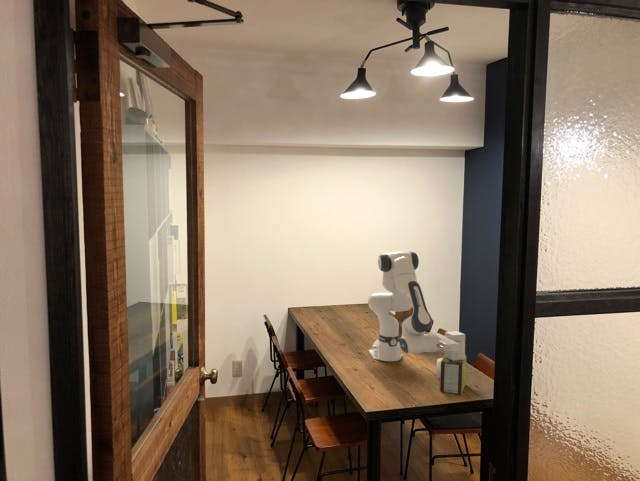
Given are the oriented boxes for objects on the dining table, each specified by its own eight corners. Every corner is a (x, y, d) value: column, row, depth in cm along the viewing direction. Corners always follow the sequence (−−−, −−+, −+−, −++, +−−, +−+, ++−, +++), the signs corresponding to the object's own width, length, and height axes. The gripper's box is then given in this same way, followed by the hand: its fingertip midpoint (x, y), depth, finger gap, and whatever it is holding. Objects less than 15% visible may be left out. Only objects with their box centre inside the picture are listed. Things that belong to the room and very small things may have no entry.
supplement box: (465, 359, 239) (465, 334, 238) (452, 360, 237) (452, 335, 236) (456, 355, 246) (457, 330, 245) (444, 356, 244) (444, 331, 243)
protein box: (465, 384, 249) (466, 354, 247) (461, 395, 234) (462, 364, 233) (444, 380, 253) (445, 351, 251) (439, 391, 239) (440, 360, 237)
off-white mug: (452, 380, 253) (453, 363, 253) (436, 379, 255) (437, 362, 254) (451, 373, 263) (451, 357, 262) (436, 372, 265) (436, 356, 264)
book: (421, 345, 312) (422, 307, 310) (417, 347, 308) (418, 309, 306) (397, 340, 322) (399, 303, 319) (394, 342, 317) (395, 305, 315)
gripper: (443, 342, 227) (469, 340, 231) (421, 330, 247) (445, 329, 251) (443, 355, 228) (468, 353, 232) (421, 343, 247) (444, 340, 251)
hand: (456, 340), depth 242 cm, fingers open, 8 cm apart
